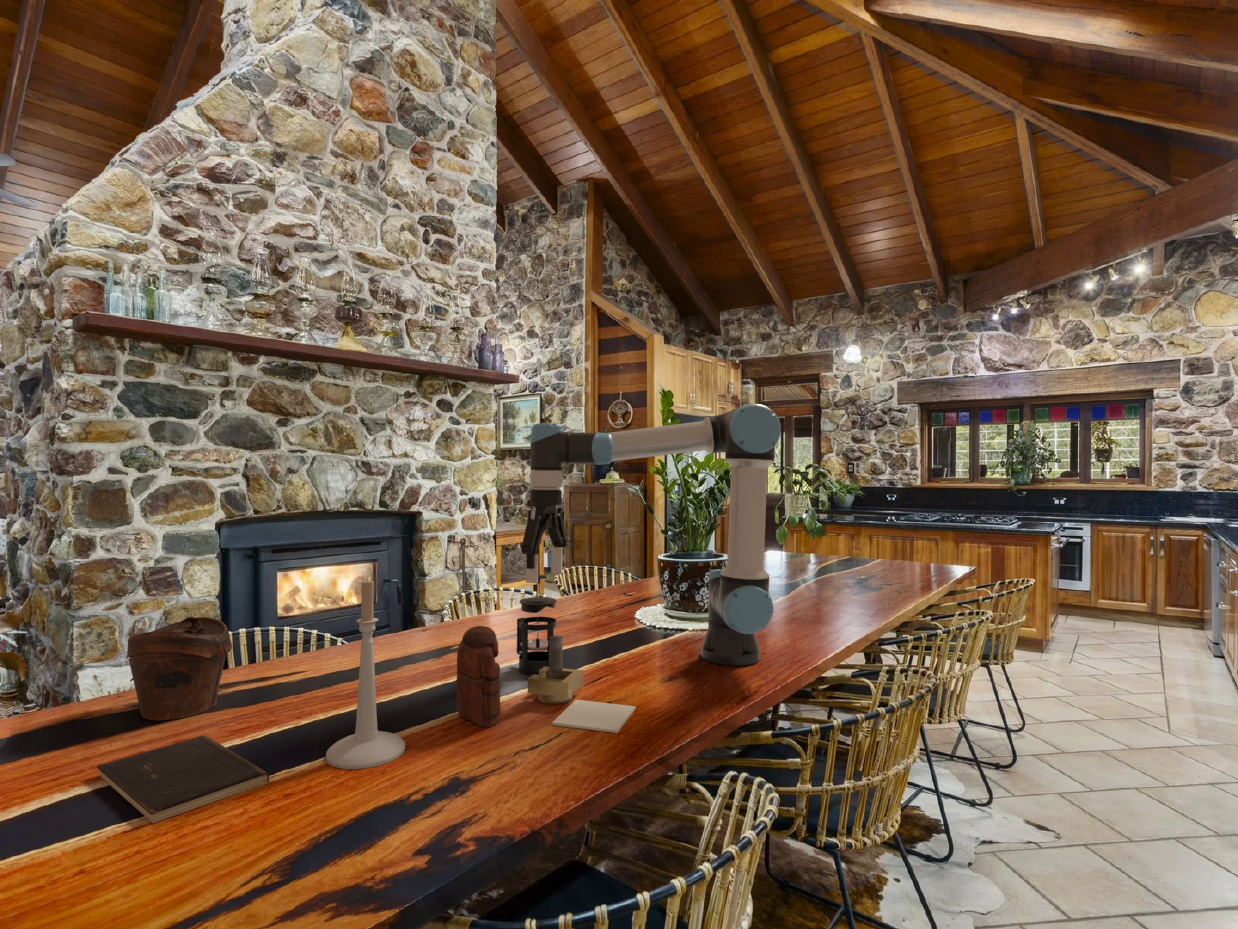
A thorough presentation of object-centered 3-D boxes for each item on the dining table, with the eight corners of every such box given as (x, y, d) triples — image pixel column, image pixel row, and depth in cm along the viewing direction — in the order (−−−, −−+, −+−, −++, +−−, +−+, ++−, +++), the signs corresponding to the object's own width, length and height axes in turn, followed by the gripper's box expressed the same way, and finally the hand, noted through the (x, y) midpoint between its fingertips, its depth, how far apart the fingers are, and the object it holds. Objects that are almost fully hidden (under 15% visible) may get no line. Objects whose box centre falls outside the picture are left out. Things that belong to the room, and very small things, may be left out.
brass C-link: (582, 684, 146) (582, 670, 146) (567, 697, 137) (567, 683, 137) (544, 680, 148) (544, 666, 148) (527, 693, 140) (527, 678, 140)
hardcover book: (150, 829, 92) (150, 812, 92) (96, 780, 106) (96, 765, 106) (269, 785, 104) (269, 770, 104) (207, 747, 118) (207, 733, 118)
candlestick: (358, 776, 106) (359, 588, 107) (309, 757, 113) (311, 580, 113) (420, 747, 117) (422, 577, 117) (373, 731, 124) (374, 570, 124)
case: (217, 685, 149) (216, 605, 148) (244, 710, 134) (243, 621, 134) (118, 707, 136) (117, 619, 136) (136, 736, 122) (135, 639, 122)
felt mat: (635, 709, 137) (635, 706, 137) (617, 733, 124) (617, 730, 124) (575, 702, 140) (575, 699, 140) (552, 724, 128) (552, 722, 128)
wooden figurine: (510, 721, 130) (511, 629, 130) (483, 731, 125) (484, 634, 125) (476, 706, 138) (477, 618, 138) (449, 714, 133) (449, 624, 133)
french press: (566, 669, 163) (567, 575, 163) (539, 679, 155) (540, 580, 155) (532, 660, 170) (533, 570, 170) (505, 669, 162) (505, 575, 162)
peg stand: (577, 694, 145) (577, 634, 145) (565, 705, 138) (565, 642, 138) (546, 690, 147) (547, 631, 147) (533, 701, 140) (533, 640, 140)
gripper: (553, 486, 171) (552, 569, 171) (506, 489, 148) (505, 585, 148) (580, 487, 169) (579, 571, 169) (537, 490, 145) (535, 588, 145)
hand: (544, 578), depth 158 cm, fingers open, 13 cm apart
